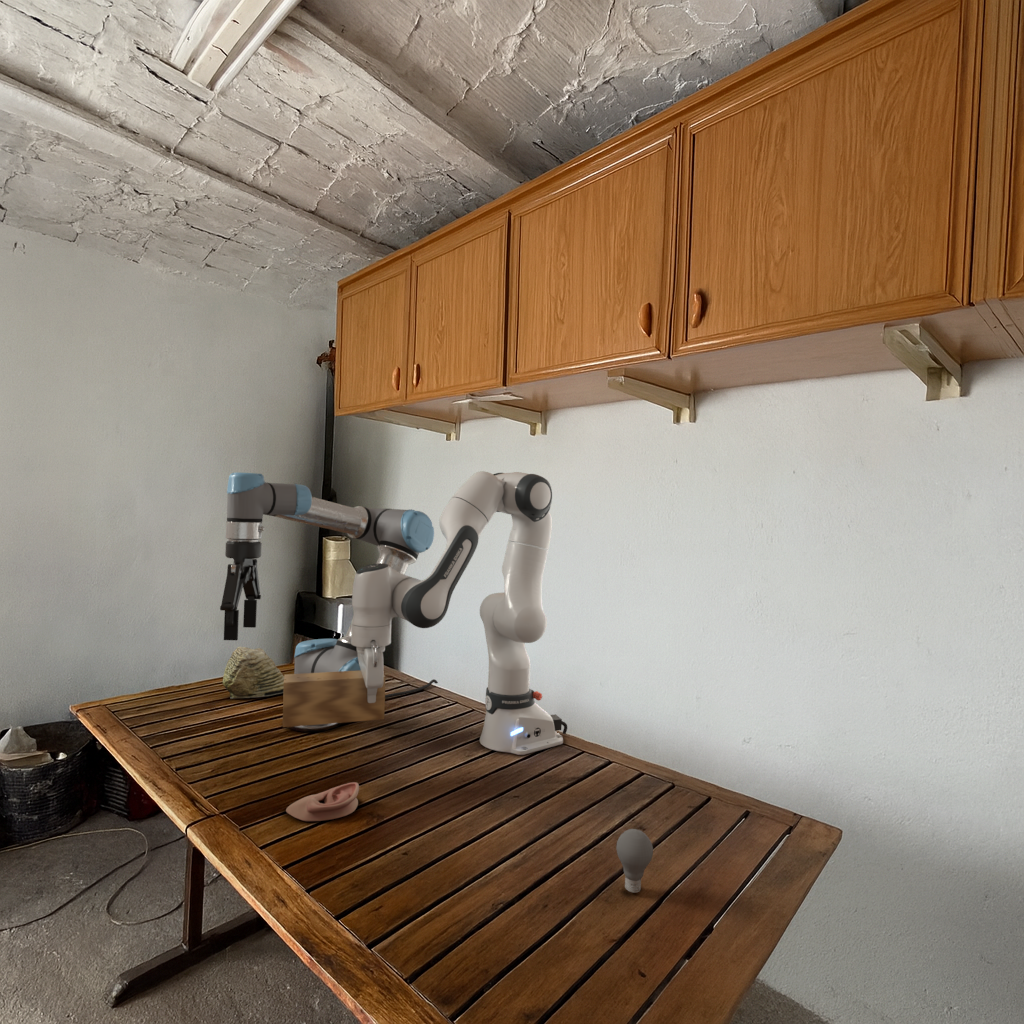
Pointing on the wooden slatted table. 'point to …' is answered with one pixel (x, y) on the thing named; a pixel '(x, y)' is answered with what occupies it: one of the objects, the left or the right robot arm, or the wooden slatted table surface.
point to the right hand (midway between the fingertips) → (369, 696)
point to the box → (329, 699)
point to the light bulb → (634, 857)
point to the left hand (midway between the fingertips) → (240, 633)
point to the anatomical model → (326, 804)
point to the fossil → (252, 674)
